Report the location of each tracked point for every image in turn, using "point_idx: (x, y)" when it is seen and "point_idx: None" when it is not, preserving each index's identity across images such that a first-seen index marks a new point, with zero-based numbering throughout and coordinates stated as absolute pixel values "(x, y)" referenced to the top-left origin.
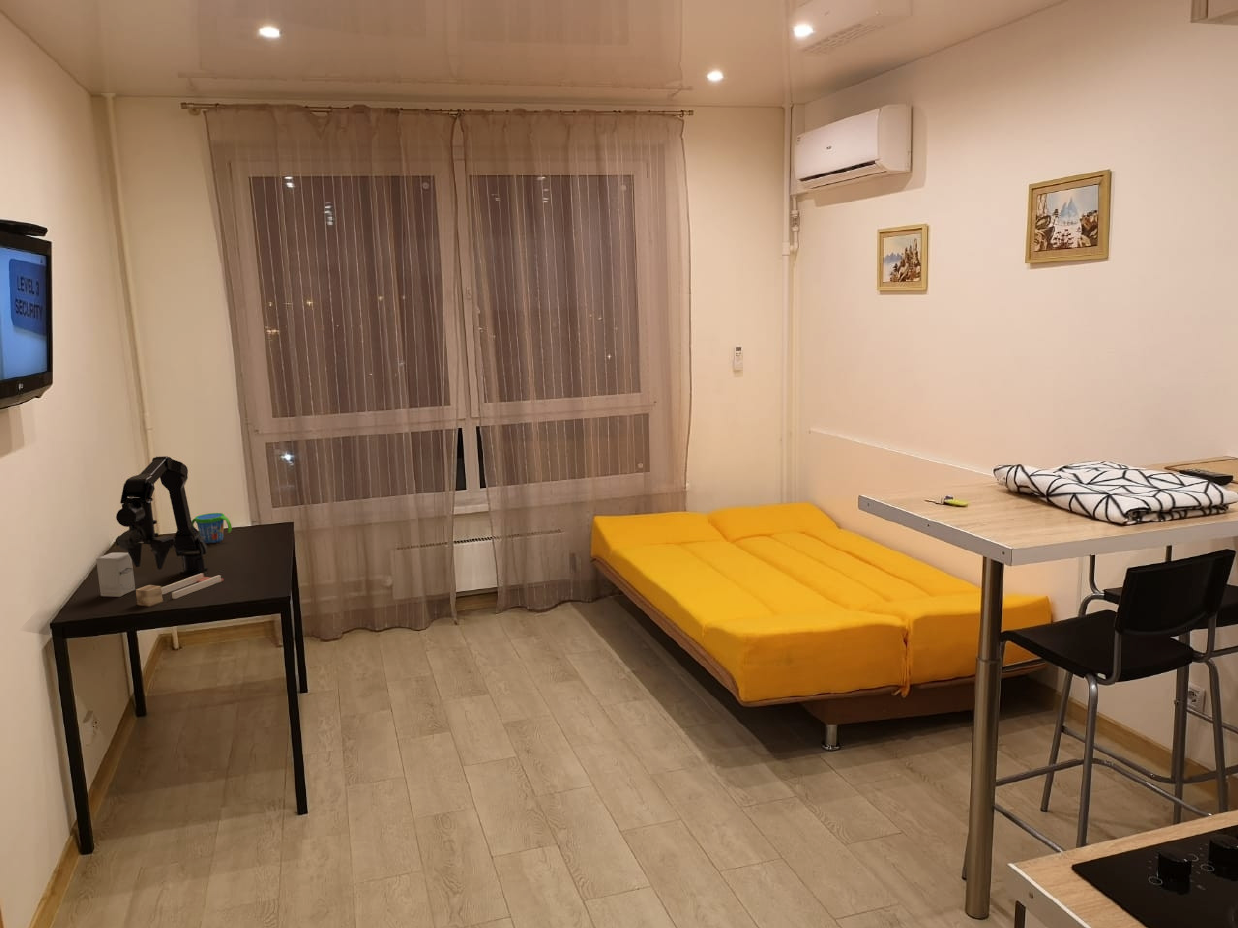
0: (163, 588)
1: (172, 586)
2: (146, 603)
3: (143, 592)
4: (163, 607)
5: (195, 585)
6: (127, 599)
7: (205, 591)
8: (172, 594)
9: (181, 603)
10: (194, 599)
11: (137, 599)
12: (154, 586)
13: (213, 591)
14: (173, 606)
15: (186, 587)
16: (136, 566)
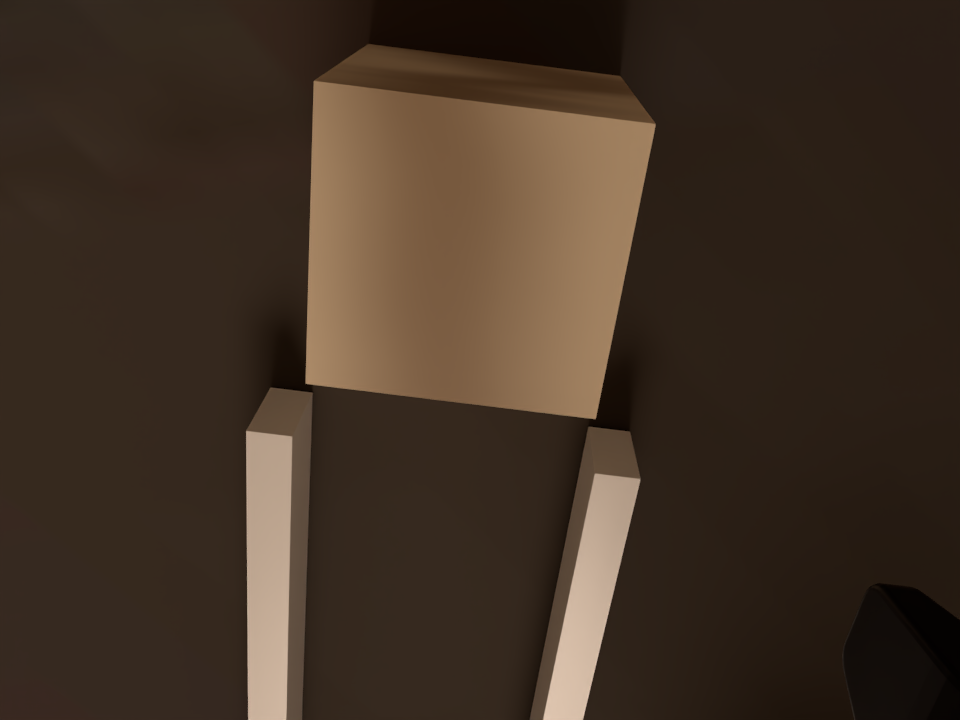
0: (574, 566)
1: (550, 662)
2: (419, 54)
3: (443, 90)
4: (110, 41)
5: (249, 699)
6: (953, 265)
7: (148, 647)
8: (291, 419)
9: (20, 248)
10: (6, 409)
11: (615, 86)
12: (417, 354)
13: (60, 656)
14: (7, 113)
15: (276, 623)
16: (885, 587)
